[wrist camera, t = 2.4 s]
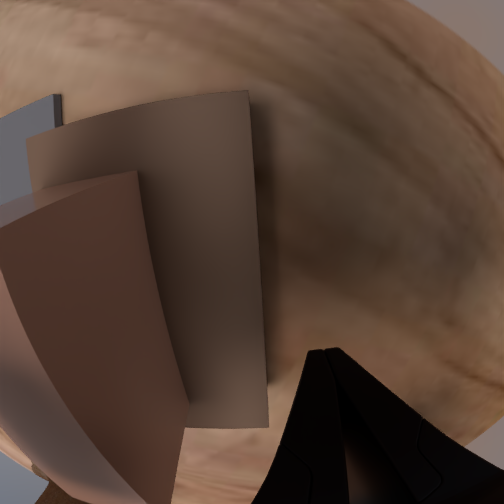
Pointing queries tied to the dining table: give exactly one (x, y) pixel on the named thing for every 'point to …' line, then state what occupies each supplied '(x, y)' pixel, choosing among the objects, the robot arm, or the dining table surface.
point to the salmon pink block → (88, 344)
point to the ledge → (187, 235)
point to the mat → (23, 143)
